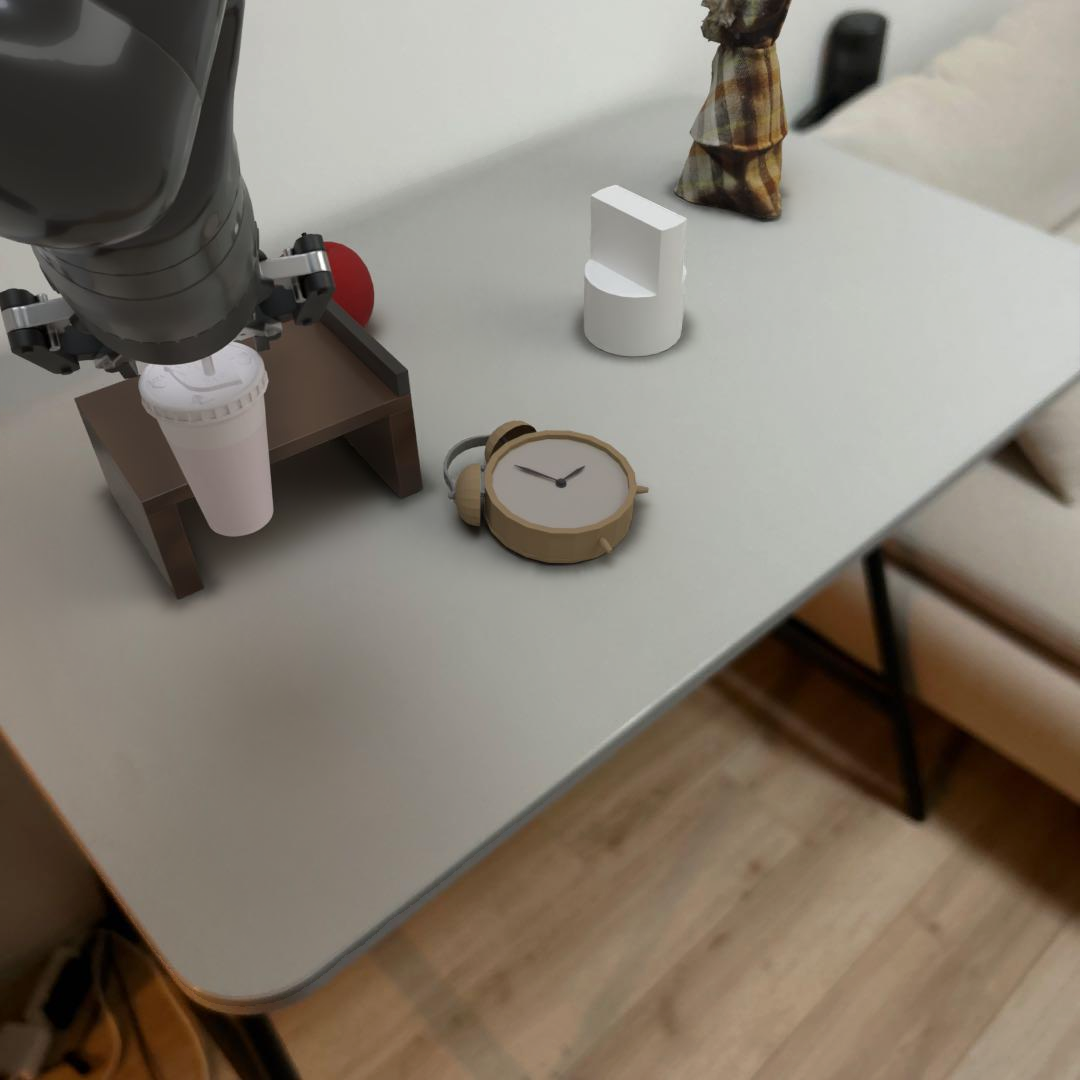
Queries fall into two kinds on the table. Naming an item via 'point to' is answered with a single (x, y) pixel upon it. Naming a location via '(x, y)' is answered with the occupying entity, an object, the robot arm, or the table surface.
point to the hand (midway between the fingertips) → (193, 345)
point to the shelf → (291, 420)
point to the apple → (350, 282)
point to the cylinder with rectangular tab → (634, 274)
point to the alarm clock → (547, 492)
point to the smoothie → (217, 433)
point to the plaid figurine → (740, 112)
